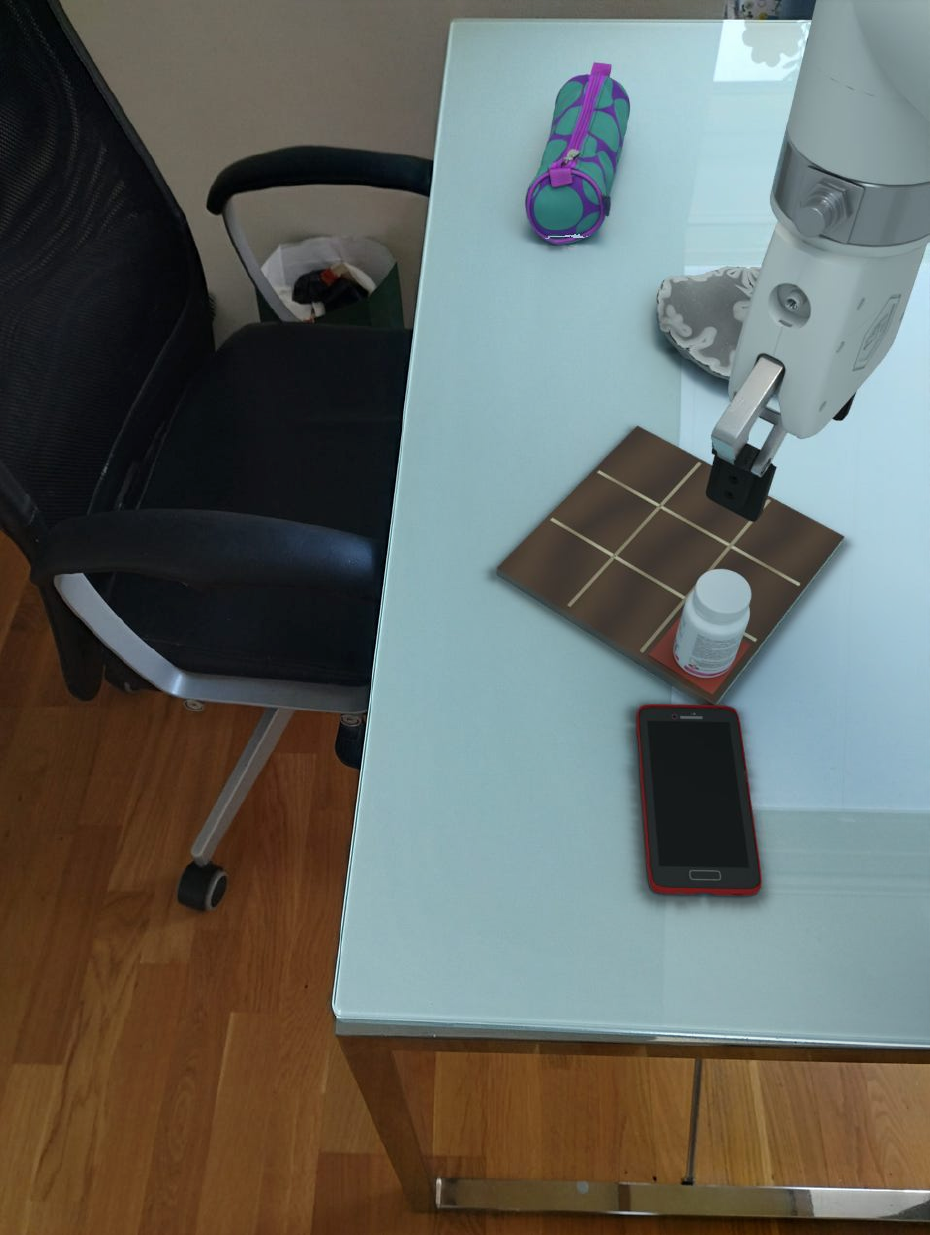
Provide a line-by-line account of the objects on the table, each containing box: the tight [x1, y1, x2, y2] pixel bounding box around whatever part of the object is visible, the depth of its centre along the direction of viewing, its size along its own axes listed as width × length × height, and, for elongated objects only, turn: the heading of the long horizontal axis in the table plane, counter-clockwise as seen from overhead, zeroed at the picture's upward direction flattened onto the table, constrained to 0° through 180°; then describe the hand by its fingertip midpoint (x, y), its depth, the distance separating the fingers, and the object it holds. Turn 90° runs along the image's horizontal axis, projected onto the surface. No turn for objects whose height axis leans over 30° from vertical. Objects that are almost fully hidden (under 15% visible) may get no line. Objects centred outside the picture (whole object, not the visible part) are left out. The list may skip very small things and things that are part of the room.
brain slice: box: [656, 266, 761, 382], centre depth 103 cm, size 20×17×3 cm
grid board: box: [496, 425, 845, 705], centre depth 89 cm, size 21×21×1 cm
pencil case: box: [524, 61, 631, 246], centre depth 115 cm, size 21×9×10 cm, turn 168°
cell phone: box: [635, 703, 763, 897], centre depth 76 cm, size 8×15×1 cm, turn 179°
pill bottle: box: [673, 569, 751, 678], centre depth 79 cm, size 5×5×8 cm
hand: (777, 456), depth 60 cm, fingers open, 9 cm apart
